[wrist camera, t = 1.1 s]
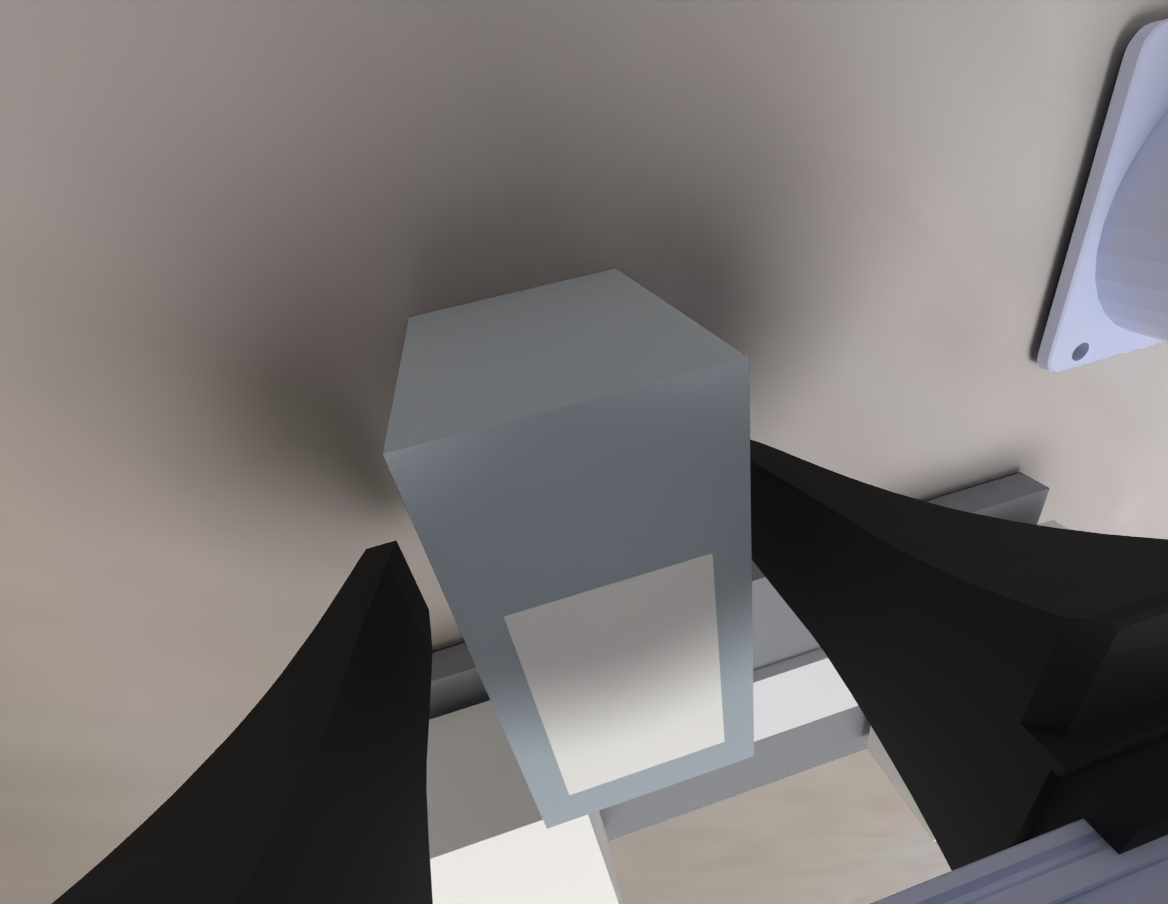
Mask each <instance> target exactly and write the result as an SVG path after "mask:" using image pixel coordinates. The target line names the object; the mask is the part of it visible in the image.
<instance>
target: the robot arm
mask: <svg viewBox="0 0 1168 904" xmlns="http://www.w3.org/2000/svg"><path fill="white" fill-rule="evenodd" d="M1165 341H1168V19H1164V20H1159V21H1155V22H1151V23H1149V24H1147V25H1145V26H1144V27H1142V28H1141V29H1140V30H1139V31H1138V32H1137V33H1136V34H1135V35H1134V37H1133V38H1132V40H1131V41H1130V43H1129V44H1128V46H1127V48H1126V51H1125V53H1124V56H1123V60H1122V63H1121V67H1120V70H1119V74H1118V77H1117V81H1116V84H1115V87H1114V91H1113V94H1112V98H1111V101H1110V105H1109V108H1108V112H1107V115H1106V119H1105V122H1104V126H1103V129H1102V133H1101V136H1100V140H1099V143H1098V147H1097V150H1096V154H1095V157H1094V161H1093V164H1092V168H1091V171H1090V175H1089V178H1088V182H1087V185H1086V189H1085V192H1084V196H1083V199H1082V203H1081V206H1080V210H1079V213H1078V216H1077V220H1076V223H1075V227H1074V230H1073V234H1072V237H1071V241H1070V244H1069V248H1068V251H1067V255H1066V258H1065V262H1064V265H1063V269H1062V272H1061V276H1060V279H1059V283H1058V286H1057V290H1056V293H1055V297H1054V300H1053V304H1052V307H1051V311H1050V314H1049V318H1048V321H1047V325H1046V328H1045V332H1044V335H1043V338H1042V342H1041V345H1040V349H1039V352H1038V357H1037V363H1038V366H1039V367H1041V368H1042V369H1045V370H1048V371H1051V372H1060V371H1063V370H1067V369H1070V368H1074V367H1077V366H1081V365H1084V364H1088V363H1091V362H1095V361H1098V360H1102V359H1105V358H1109V357H1112V356H1116V355H1119V354H1123V353H1126V352H1130V351H1133V350H1137V349H1140V348H1144V347H1147V346H1151V345H1154V344H1158V343H1161V342H1165ZM750 483H751V559H752V560H753V562H754V563H755V564H756V566H757V567H758V568H759V569H760V571H761V572H762V573H763V575H764V576H765V577H766V578H767V580H768V581H769V582H770V583H771V585H772V586H773V587H774V588H775V590H776V591H777V592H778V593H779V595H780V596H781V597H782V598H783V600H784V601H785V602H786V603H787V605H788V606H789V607H790V608H791V610H792V611H793V612H794V613H795V615H796V616H797V617H798V618H799V620H800V621H801V622H802V623H803V625H804V626H805V627H806V628H807V630H808V631H809V632H810V633H811V635H812V636H813V637H814V639H815V640H816V641H817V643H818V644H819V646H820V647H821V648H822V650H823V651H824V652H825V654H826V655H827V657H828V659H829V660H830V662H831V663H832V665H833V666H834V668H835V669H836V671H837V673H838V674H839V676H840V677H841V679H842V680H843V682H844V683H845V685H846V686H847V688H848V690H849V691H850V693H851V694H852V696H853V698H854V699H855V701H856V702H857V704H858V706H859V707H860V709H861V711H862V712H863V714H864V715H865V717H866V719H867V720H868V722H869V724H870V725H871V727H872V729H873V730H874V732H875V733H876V735H877V737H878V738H879V740H880V742H881V743H882V745H883V747H884V749H885V750H886V752H887V754H888V756H889V757H890V759H891V761H892V762H893V764H894V766H895V768H896V769H897V771H898V773H899V775H900V776H901V778H902V780H903V781H904V783H905V785H906V787H907V788H908V790H909V792H910V794H911V795H912V797H913V799H914V801H915V803H916V805H917V806H918V808H919V810H920V812H921V814H922V816H923V818H924V819H925V821H926V823H927V825H928V827H929V829H930V830H931V832H932V834H933V836H934V838H935V840H936V841H937V843H938V845H939V847H940V849H941V851H942V852H943V854H944V856H945V858H946V860H947V862H948V864H949V866H950V868H951V870H952V871H951V872H948V873H946V874H943V875H941V876H938V877H936V878H933V879H931V880H928V881H926V882H923V883H921V884H918V885H916V886H913V887H911V888H908V889H906V890H903V891H901V892H898V893H896V894H893V895H891V896H888V897H886V898H883V899H881V900H878V901H876V902H873V903H871V904H1168V540H1166V539H1155V538H1143V537H1131V536H1119V535H1108V534H1099V533H1091V532H1084V531H1076V530H1069V529H1061V528H1054V527H1047V526H1040V525H1034V524H1028V523H1022V522H1016V521H1011V520H1005V519H1000V518H995V517H990V516H985V515H980V514H975V513H970V512H966V511H961V510H957V509H952V508H948V507H944V506H941V505H937V504H933V503H929V502H925V501H921V500H918V499H914V498H910V497H907V496H903V495H900V494H897V493H893V492H890V491H887V490H884V489H881V488H878V487H875V486H872V485H869V484H866V483H863V482H860V481H857V480H854V479H852V478H849V477H846V476H843V475H841V474H838V473H835V472H833V471H830V470H828V469H825V468H822V467H820V466H817V465H815V464H812V463H810V462H807V461H805V460H802V459H800V458H797V457H795V456H792V455H790V454H787V453H785V452H783V451H780V450H777V449H775V448H772V447H770V446H767V445H765V444H762V443H759V442H756V441H753V440H750ZM431 676H432V641H431V628H430V617H429V609H428V607H427V605H426V603H425V601H424V599H423V596H422V594H421V592H420V590H419V588H418V586H417V584H416V581H415V579H414V577H413V575H412V573H411V571H410V569H409V567H408V564H407V562H406V560H405V558H404V556H403V554H402V552H401V549H400V547H399V545H398V543H397V541H393V542H389V543H386V544H382V545H379V546H375V547H372V548H368V549H366V550H365V552H364V553H363V555H362V556H361V558H360V559H359V561H358V562H357V564H356V566H355V567H354V569H353V570H352V572H351V574H350V575H349V577H348V578H347V580H346V581H345V583H344V585H343V586H342V588H341V589H340V591H339V592H338V594H337V595H336V597H335V599H334V600H333V602H332V603H331V605H330V606H329V608H328V609H327V611H326V612H325V614H324V615H323V617H322V618H321V620H320V621H319V623H318V624H317V626H316V627H315V629H314V630H313V631H312V633H311V634H310V636H309V637H308V638H307V640H306V641H305V642H304V644H303V645H302V647H301V648H300V649H299V651H298V652H297V653H296V655H295V656H294V657H293V659H292V660H291V662H290V663H289V664H288V666H287V667H286V668H285V670H284V671H283V673H282V674H281V675H280V676H279V678H278V679H277V680H276V682H275V683H274V684H273V685H272V687H271V688H270V689H269V690H268V691H267V693H266V694H265V695H264V696H263V698H262V699H261V700H260V701H259V702H258V704H257V705H256V706H255V707H254V708H253V709H252V711H251V712H250V713H249V714H248V715H247V716H246V718H245V719H244V720H243V721H242V722H241V723H240V725H239V726H238V727H237V728H236V729H235V730H234V731H233V732H232V733H231V735H230V736H229V737H228V738H227V739H226V740H225V741H224V742H223V743H222V744H221V745H220V746H219V747H218V748H217V749H216V750H215V751H214V753H213V754H212V755H211V756H210V757H209V758H208V759H207V760H206V761H205V762H204V763H203V764H202V765H201V766H200V767H199V768H198V769H197V770H196V771H195V772H194V773H193V774H192V775H191V776H190V778H189V779H188V780H187V781H186V782H185V783H184V784H183V785H182V786H181V787H180V788H179V789H178V790H177V791H176V792H175V793H174V794H173V795H172V796H171V797H170V798H169V799H168V800H167V801H166V802H165V803H164V804H163V805H161V806H160V807H159V808H158V809H157V810H156V811H155V812H154V813H153V814H152V815H151V816H150V817H149V818H148V819H147V820H146V821H145V822H144V823H143V824H142V825H141V826H139V827H138V828H137V829H136V830H135V831H134V832H133V833H132V834H131V835H130V836H129V837H127V838H126V839H125V840H124V841H123V842H122V843H121V844H120V845H119V846H118V847H117V848H115V849H114V850H113V851H112V852H111V853H110V854H109V855H108V856H107V857H106V858H104V859H103V860H102V861H101V862H100V863H99V864H98V865H96V866H95V867H94V868H93V869H92V870H91V871H90V872H89V873H87V874H86V875H85V876H84V877H83V878H82V879H81V880H79V881H78V882H77V883H76V884H75V885H73V886H72V887H71V888H70V889H69V890H67V891H66V892H65V893H64V894H63V895H62V896H60V897H59V898H58V899H57V900H56V901H54V902H53V903H52V904H433V899H432V883H431V867H430V851H429V833H428V811H427V788H426V785H427V749H428V731H429V713H430V696H431Z"/></svg>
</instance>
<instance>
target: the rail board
mask: <svg viewBox="0 0 1168 904" xmlns="http://www.w3.org/2000/svg"><path fill="white" fill-rule="evenodd" d="M1049 489H1050V488H1048V487H1046V486H1044V485H1043V484H1041V483H1039V482H1037V481H1035V480H1034V479H1032V478H1030V477H1028V476H1026V475H1025V474H1023V473H1021V472H1020V473H1017V474H1013V475H1010V476H1007V477H1004V478H1000V479H997V480H994V481H991V482H987V483H984V484H981V485H977V486H974V487H971V488H968V489H964V490H961V491H958V492H955V493H951V494H948V495H945V496H942V497H938V498H935V499H932V500H929V501H925V502H929V503H933V504H937V505H941V506H944V507H948V508H952V509H957V510H961V511H966V512H970V513H975V514H980V515H985V516H990V517H995V518H1000V519H1005V520H1011V521H1016V522H1022V523H1028V524H1034V525H1037V523H1038V520H1039V517H1040V514H1041V512H1042V509H1043V506H1044V503H1045V500H1046V497H1047V494H1048V491H1049ZM1039 525H1040V526H1047V527H1054V528H1061V529H1067V528H1065V527H1064V526H1062V525H1060V524H1059V523H1057V522H1055V521H1054V520H1051V521H1048V522H1045V523H1042V524H1039ZM752 636H753V712H754V756H753V757H750V758H747V759H744V760H742V761H739V762H736V763H733V764H730V765H727V766H725V767H722V768H719V769H716V770H713V771H710V772H707V773H705V774H702V775H699V776H696V777H693V778H690V779H687V780H685V781H682V782H679V783H676V784H673V785H670V786H668V787H665V788H662V789H659V790H656V791H653V792H650V793H648V794H645V795H642V796H639V797H636V798H633V799H631V800H628V801H625V802H622V803H619V804H616V805H613V806H611V807H608V808H605V809H602V810H599V811H596V812H593V813H591V814H588V815H585V816H582V817H579V818H576V819H574V820H571V821H568V822H565V823H562V824H559V825H556V826H554V827H551V828H548V829H547V828H546V825H545V823H544V821H543V819H542V816H541V814H540V812H539V810H538V807H537V805H536V803H535V800H534V798H533V796H532V794H531V791H530V789H529V787H528V784H527V782H526V780H525V778H524V775H523V773H522V771H521V769H520V766H519V764H518V762H517V759H516V757H515V755H514V753H513V750H512V748H511V746H510V743H509V741H508V739H507V737H506V734H505V732H504V730H503V727H502V725H501V723H500V721H499V718H498V716H497V714H496V712H495V709H494V707H493V705H492V702H491V700H490V698H489V696H488V693H487V691H486V689H485V686H484V684H483V682H482V680H481V677H480V675H479V673H478V671H477V668H476V666H475V664H474V661H473V659H472V657H471V655H470V652H469V650H468V648H467V645H466V643H462V644H459V645H456V646H453V647H449V648H446V649H443V650H440V651H436V652H433V653H432V676H431V696H430V713H429V731H428V749H427V785H426V788H427V811H428V833H429V851H430V867H431V883H432V899H433V904H624V901H623V897H622V893H621V889H620V885H619V881H618V877H617V873H616V868H615V864H614V860H613V856H612V852H611V848H610V844H609V840H612V839H615V838H618V837H621V836H623V835H626V834H629V833H632V832H635V831H637V830H640V829H643V828H646V827H649V826H651V825H654V824H657V823H660V822H662V821H665V820H668V819H671V818H674V817H676V816H679V815H682V814H685V813H688V812H690V811H693V810H696V809H699V808H702V807H704V806H707V805H710V804H713V803H716V802H718V801H721V800H724V799H727V798H730V797H732V796H735V795H738V794H741V793H744V792H746V791H749V790H752V789H755V788H757V787H760V786H763V785H766V784H769V783H771V782H774V781H777V780H780V779H783V778H785V777H788V776H791V775H794V774H797V773H799V772H802V771H805V770H808V769H811V768H813V767H816V766H819V765H822V764H825V763H827V762H830V761H833V760H836V759H839V758H841V757H844V756H847V755H850V754H852V753H855V752H858V751H861V750H864V749H866V748H867V749H868V750H869V752H870V753H871V754H872V756H873V757H874V759H875V760H876V761H877V763H878V764H879V766H880V767H881V768H882V770H883V771H884V773H885V774H886V775H887V777H888V778H889V780H890V781H891V782H892V784H893V785H894V787H895V788H896V789H897V791H898V792H899V794H900V795H901V796H902V798H903V799H904V801H905V802H906V803H907V805H908V806H909V808H910V809H911V810H912V812H913V813H914V815H915V816H916V817H917V819H918V820H919V822H920V823H921V824H922V826H923V827H924V829H925V830H926V831H927V833H928V834H929V836H930V837H931V838H932V840H933V841H934V842H935V841H936V840H935V838H934V836H933V834H932V832H931V830H930V829H929V827H928V825H927V823H926V821H925V819H924V818H923V816H922V814H921V812H920V810H919V808H918V806H917V805H916V803H915V801H914V799H913V797H912V795H911V794H910V792H909V790H908V788H907V787H906V785H905V783H904V781H903V780H902V778H901V776H900V775H899V773H898V771H897V769H896V768H895V766H894V764H893V762H892V761H891V759H890V757H889V756H888V754H887V752H886V750H885V749H884V747H883V745H882V743H881V742H880V740H879V738H878V737H877V735H876V733H875V732H874V730H873V729H872V727H871V725H870V724H869V722H868V720H867V719H866V717H865V715H864V714H863V712H862V711H861V709H860V707H859V706H858V704H857V702H856V701H855V699H854V698H853V696H852V694H851V693H850V691H849V690H848V688H847V686H846V685H845V683H844V682H843V680H842V679H841V677H840V676H839V674H838V673H837V671H836V669H835V668H834V666H833V665H832V663H831V662H830V660H829V659H828V657H827V655H826V654H825V652H824V651H823V650H822V648H821V647H820V646H819V644H818V643H817V641H816V640H815V639H814V637H813V636H812V635H811V633H810V632H809V631H808V630H807V628H806V627H805V626H804V625H803V623H802V622H801V621H800V620H799V618H798V617H797V616H796V615H795V613H794V612H793V611H792V610H791V608H790V607H789V606H788V605H787V603H786V602H785V601H784V600H783V598H782V597H781V596H780V595H779V593H778V592H777V591H776V590H775V588H774V587H773V586H772V585H771V583H770V582H769V581H768V580H767V578H766V577H765V576H764V575H763V573H762V572H761V571H760V569H759V568H758V567H757V566H756V564H755V563H754V562H753V560H752Z"/></svg>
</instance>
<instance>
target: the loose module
mask: <svg viewBox="0 0 1168 904" xmlns="http://www.w3.org/2000/svg"><path fill="white" fill-rule="evenodd" d="M383 456H384V459H385V461H386V463H387V465H388V468H389V470H390V472H391V475H392V477H393V479H394V481H395V484H396V486H397V488H398V490H399V493H400V495H401V497H402V500H403V502H404V504H405V506H406V509H407V511H408V513H409V516H410V518H411V520H412V522H413V525H414V527H415V529H416V531H417V534H418V536H419V538H420V541H421V543H422V545H423V547H424V550H425V552H426V554H427V557H428V559H429V561H430V563H431V566H432V568H433V570H434V573H435V575H436V577H437V579H438V582H439V584H440V586H441V588H442V591H443V593H444V595H445V598H446V600H447V602H448V604H449V607H450V609H451V611H452V614H453V616H454V618H455V620H456V623H457V625H458V627H459V629H460V632H461V634H462V636H463V639H464V641H465V643H466V645H467V648H468V650H469V652H470V655H471V657H472V659H473V661H474V664H475V666H476V668H477V671H478V673H479V675H480V677H481V680H482V682H483V684H484V686H485V689H486V691H487V693H488V696H489V698H490V700H491V702H492V705H493V707H494V709H495V712H496V714H497V716H498V718H499V721H500V723H501V725H502V727H503V730H504V732H505V734H506V737H507V739H508V741H509V743H510V746H511V748H512V750H513V753H514V755H515V757H516V759H517V762H518V764H519V766H520V769H521V771H522V773H523V775H524V778H525V780H526V782H527V784H528V787H529V789H530V791H531V794H532V796H533V798H534V800H535V803H536V805H537V807H538V810H539V812H540V814H541V816H542V819H543V821H544V823H545V825H546V828H547V829H548V828H551V827H554V826H556V825H559V824H562V823H565V822H568V821H571V820H574V819H576V818H579V817H582V816H585V815H588V814H591V813H593V812H596V811H599V810H602V809H605V808H608V807H611V806H613V805H616V804H619V803H622V802H625V801H628V800H631V799H633V798H636V797H639V796H642V795H645V794H648V793H650V792H653V791H656V790H659V789H662V788H665V787H668V786H670V785H673V784H676V783H679V782H682V781H685V780H687V779H690V778H693V777H696V776H699V775H702V774H705V773H707V772H710V771H713V770H716V769H719V768H722V767H725V766H727V765H730V764H733V763H736V762H739V761H742V760H744V759H747V758H750V757H753V756H754V712H753V636H752V559H751V483H750V407H749V357H747V356H746V355H744V354H743V353H741V352H740V351H738V350H737V349H735V348H734V347H732V346H731V345H729V344H728V343H726V342H725V341H723V340H722V339H720V338H719V337H717V336H716V335H714V334H713V333H711V332H710V331H708V330H707V329H705V328H704V327H703V326H701V325H700V324H698V323H697V322H695V321H694V320H692V319H691V318H689V317H688V316H686V315H685V314H683V313H682V312H680V311H679V310H677V309H676V308H674V307H673V306H671V305H670V304H668V303H667V302H665V301H664V300H662V299H661V298H659V297H658V296H656V295H655V294H653V293H652V292H650V291H649V290H647V289H646V288H644V287H643V286H642V285H640V284H639V283H637V282H636V281H634V280H633V279H631V278H630V277H628V276H627V275H625V274H624V273H622V272H621V271H619V270H618V269H616V268H614V269H610V270H606V271H602V272H598V273H593V274H589V275H585V276H581V277H577V278H572V279H568V280H564V281H560V282H555V283H551V284H547V285H543V286H539V287H534V288H530V289H526V290H522V291H518V292H513V293H509V294H505V295H501V296H497V297H492V298H488V299H484V300H480V301H475V302H471V303H467V304H463V305H459V306H454V307H450V308H446V309H442V310H438V311H433V312H429V313H425V314H421V315H416V316H412V317H409V320H408V325H407V330H406V336H405V341H404V346H403V351H402V356H401V361H400V367H399V372H398V377H397V382H396V387H395V393H394V398H393V403H392V408H391V413H390V419H389V424H388V429H387V434H386V439H385V444H384V450H383Z"/></svg>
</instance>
